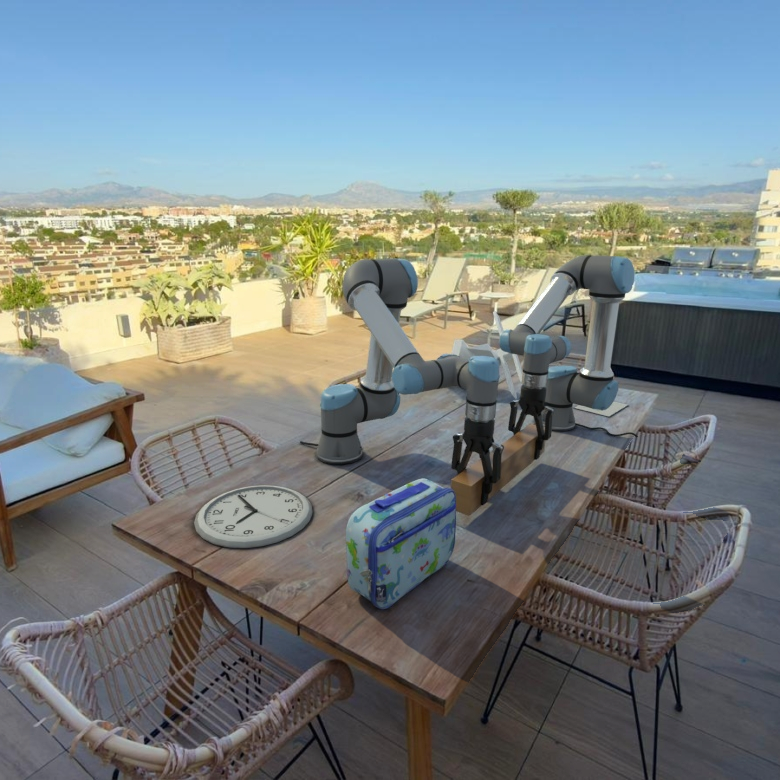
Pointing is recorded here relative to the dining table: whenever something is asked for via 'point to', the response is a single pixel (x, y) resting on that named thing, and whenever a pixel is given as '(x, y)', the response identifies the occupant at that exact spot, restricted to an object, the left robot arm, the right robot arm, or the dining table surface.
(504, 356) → the white plastic object
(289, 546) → the dining table surface
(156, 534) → the dining table surface
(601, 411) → the invitation card
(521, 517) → the dining table surface
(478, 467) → the post
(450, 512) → the lunch box
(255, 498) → the wall clock
